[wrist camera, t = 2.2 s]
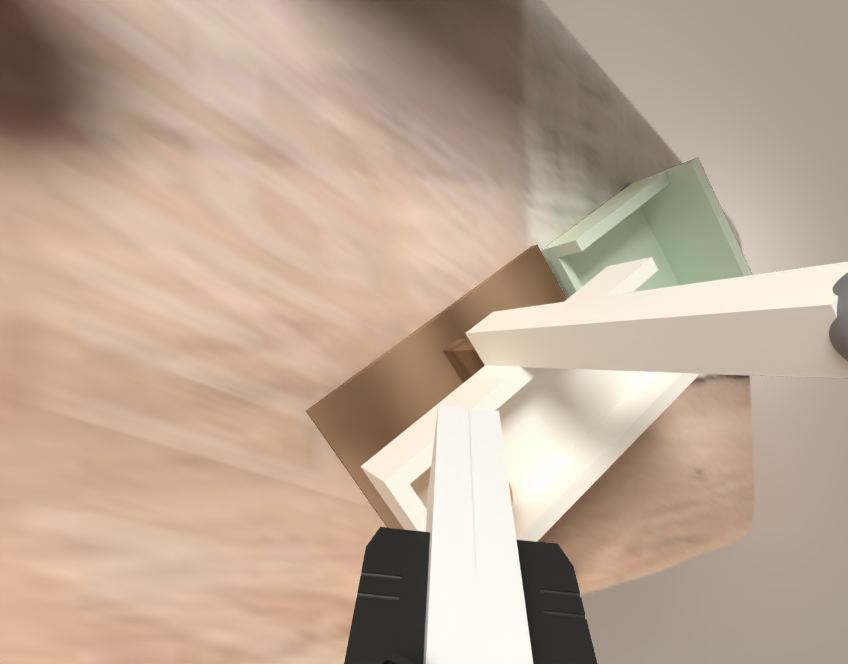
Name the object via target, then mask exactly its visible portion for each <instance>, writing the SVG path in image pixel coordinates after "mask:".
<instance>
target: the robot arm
mask: <svg viewBox="0 0 848 664" xmlns="http://www.w3.org/2000/svg"><path fill="white" fill-rule="evenodd" d="M344 664H597V661H596V657H595V653H594V649H593V644H592V640H591V636H590V632H589V628H588V624H587V620H586V619H585V612H584V608H583V604H582V599H581V597H580V591H579V587H578V583H577V579H576V575H575V571H574V567H573V565H572V564H571V562H570V561H569V560H568V558H567V557H566V555H565V554H564V552H563V551H562V549H561V548H560V547H559V545H558V544H554V543H544V542H535V541H525V540H516V533H515V525H514V518H513V511H512V503H511V496H510V489H509V481H508V474H507V466H506V459H505V452H504V444H503V437H502V430H501V422H500V415H499V411H494V410H484V409H474V408H465V407H455V406H445V405H438V412H437V420H436V429H435V437H434V446H433V454H432V463H431V471H430V480H429V488H428V503H427V519H426V532H423V531H414V530H404V529H394V528H385V527H380V528H379V530H378V531H377V533H376V534H375V535H374V537H373V538H372V539H371V541H370V542H369V544H368V545H367V546H366V550H365V556H364V561H363V567H362V573H361V577H360V583H359V588H358V594H357V599H356V604H355V609H354V615H353V620H352V625H351V631H350V636H349V641H348V647H347V652H346V657H345V663H344Z"/></svg>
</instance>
